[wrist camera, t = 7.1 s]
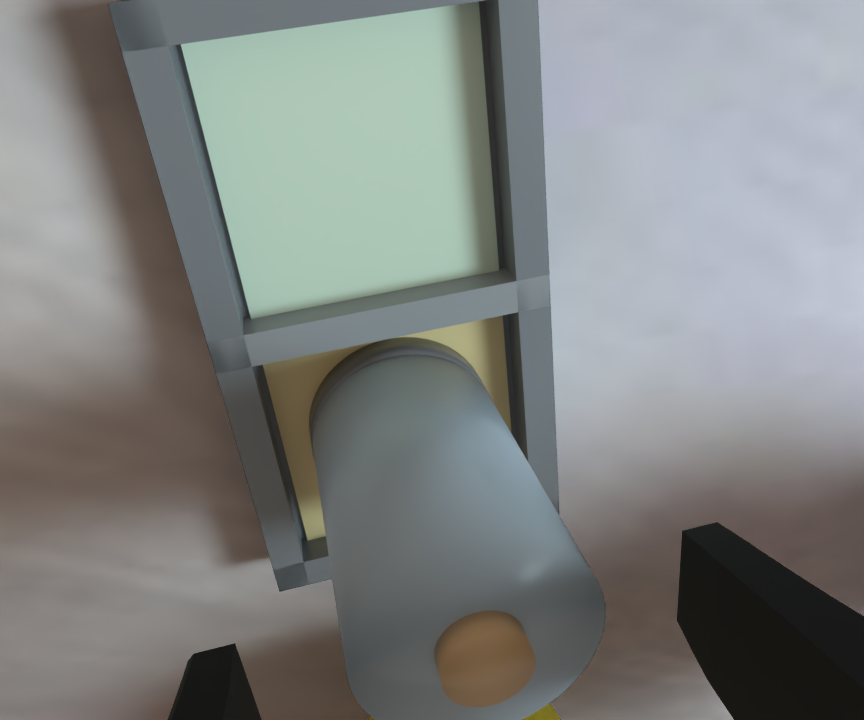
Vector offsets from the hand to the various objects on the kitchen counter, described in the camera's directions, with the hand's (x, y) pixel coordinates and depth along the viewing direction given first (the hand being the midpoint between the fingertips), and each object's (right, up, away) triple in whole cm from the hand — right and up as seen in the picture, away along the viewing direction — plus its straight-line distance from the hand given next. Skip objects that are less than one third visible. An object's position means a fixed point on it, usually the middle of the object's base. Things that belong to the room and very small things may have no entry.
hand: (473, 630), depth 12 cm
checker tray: (-2, +5, +4) cm, 7 cm away
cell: (-1, +3, +5) cm, 6 cm away
